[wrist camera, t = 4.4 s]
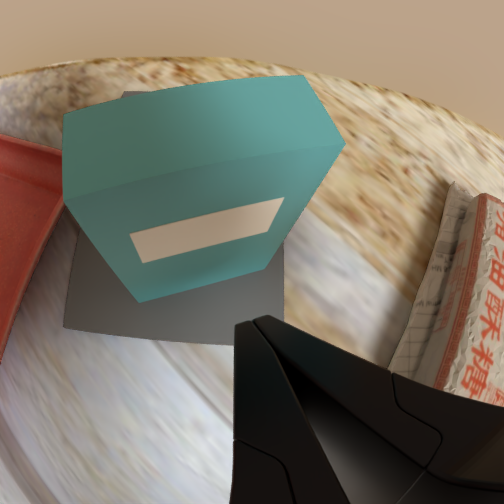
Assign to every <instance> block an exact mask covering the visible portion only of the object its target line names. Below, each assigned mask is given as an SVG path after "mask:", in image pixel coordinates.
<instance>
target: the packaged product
mask: <svg viewBox="0 0 504 504" xmlns="http://www.w3.org/2000/svg"><path fill="white" fill-rule="evenodd" d="M388 370H390V371H391V374H392V373H393V372H395V373H397V374H400V375H402V376H404V377H407V378H409V379H412V380H414V381H417V382H419V383H422V384H424V385H427V386H430V387H433V388H436V389H439V390H442V391H445V392H449V393H452V394H455V395H459V396H463V397H466V398H470V399H474V400H478V401H482V402H485V403H489V404H493V405H497V406H502V407H504V202H503V203H502V202H501V200H500V199H498V198H496V197H493V196H491V195H489V194H487V193H482V194H480V195H478V196H476V197H474V198H473V197H472V196H471V195H470V194H469V193H468V192H467V191H466V190H460V189H459V187H458V186H457V185H456V184H455V181H454V182H453V184H452V185H451V186H450V187H449V190H448V194H447V198H446V201H445V206H444V211H443V216H442V220H441V224H440V228H439V233H438V236H437V239H436V242H435V246H434V249H433V252H432V255H431V258H430V261H429V263H428V266H427V270H426V273H425V275H424V278H423V280H422V282H421V285H420V287H419V289H418V292H417V295H416V299H415V301H414V303H413V306H412V310H411V314H410V317H409V320H408V324H407V327H406V329H405V331H404V333H403V335H402V338H401V340H400V342H399V344H398V347H397V349H396V351H395V353H394V356H393V358H392V360H391V362H390V365H389V367H388Z"/></svg>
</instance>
